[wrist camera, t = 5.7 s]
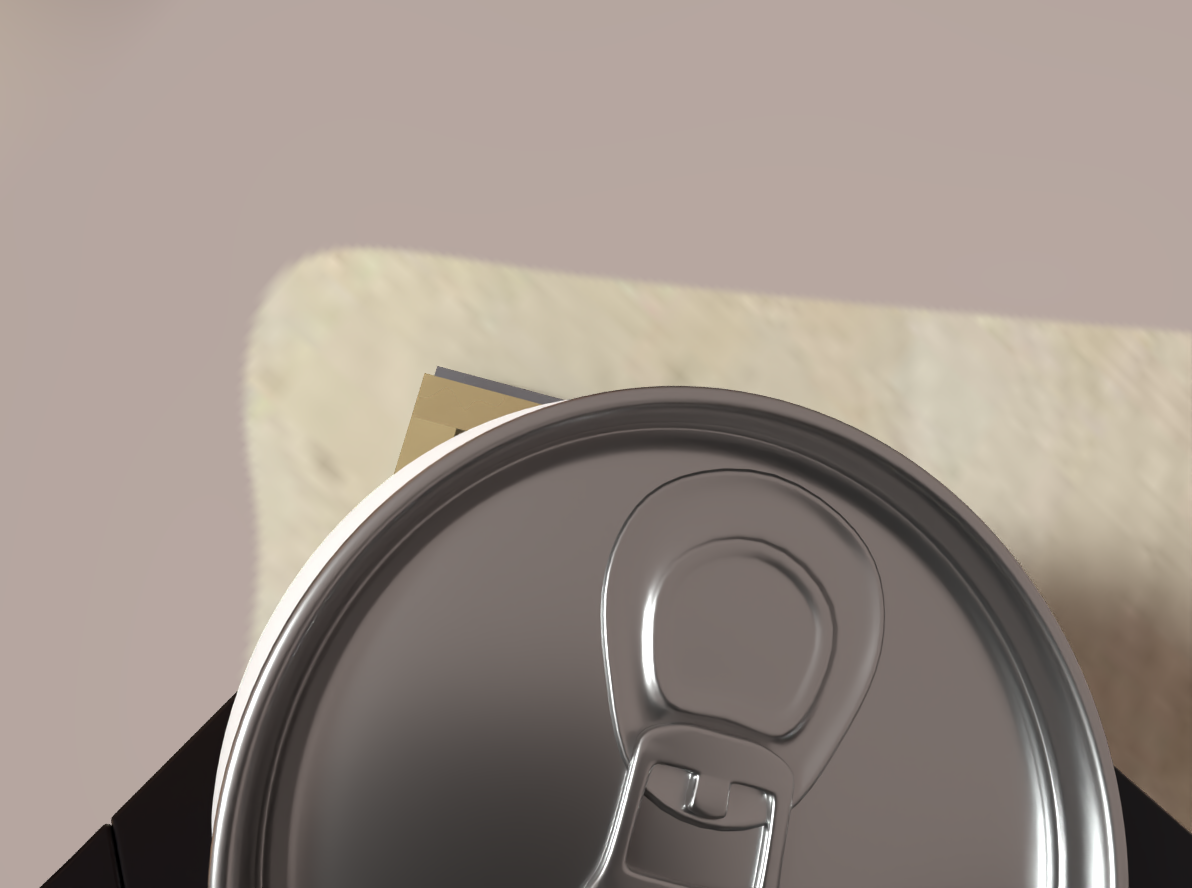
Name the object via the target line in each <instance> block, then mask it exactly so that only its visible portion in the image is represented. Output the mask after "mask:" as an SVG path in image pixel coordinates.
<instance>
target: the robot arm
mask: <svg viewBox="0 0 1192 888" xmlns="http://www.w3.org/2000/svg"><path fill="white" fill-rule="evenodd" d="M237 692H238V691H237ZM237 692H236V693H235V694H234V695H233V696H232V697H231V698H230V699H229V700H228V701H227V702H226V703H225V704H224V705H223V706H222V707H221V708H220V709H219V710H218V711H217V712H216V713H215V714H214V715H213V716H212V717H211V718H210V719H209V720H208V721H207V722H206V723H205V724H204V725H203V726H202V727H201V728H200V729H199V730H198V731H197V732H196V733H195V734H194V735H193V736H192V737H191V738H190V740H188V741H187V742H186V743H185V744H184V745H183V746H182V747H181V748H180V749H179V750H178V751H177V752H176V753H175V754H174V755H173V756H172V757H171V758H170V759H169V760H168V761H167V762H166V763H165V764H164V765H163V766H162V767H161V769H160V770H158V771H157V772H156V773H155V774H154V776H152V777H151V778H150V780H148V781H147V782H146V783H145V784H144V785H143V786H142V787H141V788H140V790H138V791H137V793H135V794H134V795H133V796H132V797H131V798H130V799H129V800H128V801H127V802H126V803H125V804H124V805H123V806H122V807H121V808H120V809H119V810H118V811H117V813H115V814H114V816H113V817H112V819H111V823H112V826H111V825H110V824H105V825H103V826H102V827H101V828H100V829H99V830H98V831H97V832H96V833H95V834H94V835H93V836H92V837H91V838H90V839H89V840H88V841H87V842H86V843H85V844H84V845H83V846H82V847H81V848H80V849H79V850H78V851H77V852H76V853H75V854H74V855H73V856H72V857H71V858H70V859H69V860H68V861H67V862H66V863H65V864H64V865H63V866H62V867H61V868H60V869H59V870H58V871H57V872H56V873H55V874H54V875H52V876H51V877H50V878H49V879H48V880H47V881H46V882H45V883H44V884H43V885H42V886H41V887H40V888H208V871H209V860H210V849H211V841H212V806H213V796H214V789H215V782H216V775H217V769H218V764H219V759H220V753H221V749H222V744H223V740H224V736H225V732H226V728H227V724H228V721H229V717H230V714H231V710H232V707H233V704H234V701H235V698H236V695H237ZM1113 766H1114V765H1113ZM1114 770H1115V775H1116V779H1117V784H1118V790H1119V795H1120V800H1121V806H1122V813H1123V820H1124V827H1125V836H1126V846H1127V858H1128V874H1129V888H1192V834H1191V833H1190V832H1189V831H1188V830H1187V829H1186V828H1185V827H1183V826H1182V825H1181V824H1180V823H1179V822H1178V821H1177V820H1175V819H1174V818H1173V817H1172V816H1171V815H1170V814H1169V813H1167V812H1166V811H1165V810H1164V809H1163V808H1162V807H1161V806H1159V805H1158V804H1157V803H1156V802H1155V801H1154V800H1153V799H1151V798H1150V797H1149V796H1148V795H1147V794H1146V793H1145V792H1143V791H1142V790H1141V789H1140V788H1139V787H1138V786H1137V785H1135V784H1134V783H1133V782H1132V781H1131V780H1130V779H1129V778H1128V777H1126V776H1125V775H1124V774H1123V773H1122V772H1121V771H1120V770H1118V769H1117V768H1116V767H1115V766H1114Z"/></svg>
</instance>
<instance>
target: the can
mask: <svg viewBox="0 0 1192 888" xmlns="http://www.w3.org/2000/svg"><path fill="white" fill-rule="evenodd" d="M208 888H1129V874H1128V858H1127V846H1126V836H1125V827H1124V820H1123V813H1122V806H1121V800H1120V795H1119V790H1118V784H1117V779H1116V775H1115V770H1114V766H1113V762H1112V758H1111V754H1110V750H1109V746H1108V743H1107V739H1106V736H1105V733H1104V729H1103V726H1102V723H1101V720H1100V717H1099V714H1098V711H1097V708H1096V705H1095V702H1094V700H1093V697H1092V694H1091V692H1090V689H1089V687H1088V684H1087V682H1086V679H1085V677H1084V675H1083V672H1082V670H1081V668H1080V666H1079V663H1078V661H1077V659H1076V657H1075V655H1074V653H1073V651H1072V649H1071V647H1070V645H1069V643H1068V641H1067V639H1066V637H1065V635H1064V633H1063V631H1062V629H1061V627H1060V626H1059V624H1058V622H1057V620H1056V618H1055V617H1054V615H1053V613H1052V612H1051V610H1050V608H1049V607H1048V605H1047V603H1046V602H1045V600H1044V599H1043V597H1042V596H1041V594H1040V593H1039V591H1038V589H1037V588H1036V586H1035V585H1034V583H1033V582H1032V581H1031V579H1030V578H1029V576H1028V575H1027V574H1026V572H1025V571H1024V569H1023V568H1022V567H1021V565H1020V564H1019V563H1018V562H1017V560H1016V559H1015V558H1014V556H1013V555H1012V554H1011V553H1010V551H1009V550H1008V549H1007V548H1006V547H1005V545H1004V544H1003V543H1002V542H1001V541H1000V540H999V538H998V537H997V536H996V535H995V534H994V533H993V532H992V531H991V529H990V528H989V527H988V526H987V525H986V524H985V523H984V522H983V521H982V520H981V519H980V518H979V517H978V516H977V515H976V514H975V513H974V512H973V511H972V510H971V509H970V508H969V507H968V506H967V505H966V504H965V503H964V502H963V501H962V500H960V499H959V498H958V497H957V496H956V495H955V494H954V493H953V492H952V491H950V490H949V489H948V488H947V487H946V486H944V485H943V484H942V483H941V482H940V481H938V480H937V479H936V478H935V477H933V476H932V475H931V474H929V473H928V472H927V471H925V470H924V469H923V468H921V467H920V466H918V465H917V464H916V463H914V462H913V461H911V460H910V459H908V458H907V457H905V456H904V455H902V454H901V453H899V452H898V451H896V450H894V449H893V448H891V447H890V446H888V445H886V444H884V443H883V442H881V441H879V440H877V439H876V438H874V437H872V436H870V435H868V434H866V433H864V432H862V431H860V430H859V429H857V428H855V427H853V426H850V425H848V424H846V423H844V422H841V421H839V420H837V419H835V418H832V417H830V416H827V415H825V414H822V413H820V412H817V411H814V410H811V409H808V408H805V407H803V406H800V405H796V404H793V403H790V402H786V401H783V400H779V399H775V398H771V397H767V396H763V395H758V394H752V393H747V392H742V391H735V390H728V389H720V388H709V387H694V386H656V387H640V388H631V389H622V390H615V391H609V392H602V393H597V394H593V395H588V396H583V397H579V398H575V399H570V400H564V401H558V402H553V403H548V404H543V405H539V406H535V407H531V408H528V409H524V410H521V411H517V412H514V413H511V414H508V415H505V416H502V417H499V418H497V419H494V420H491V421H488V422H486V423H484V424H481V425H479V426H476V427H474V428H472V429H470V430H468V431H465V432H463V433H461V434H459V435H457V436H455V437H453V438H451V439H449V440H447V441H446V442H444V443H442V444H440V445H438V446H436V447H435V448H433V449H431V450H430V451H428V452H426V453H425V454H423V455H421V456H420V457H418V458H417V459H415V460H414V461H412V462H411V463H409V464H408V465H406V466H405V467H403V468H402V469H401V470H399V471H398V472H397V473H395V474H394V475H393V476H391V477H390V478H389V479H387V480H386V481H385V482H384V483H382V484H381V485H380V486H379V487H377V488H376V489H375V490H374V491H373V492H371V493H370V494H369V495H368V496H367V497H366V498H365V499H364V500H362V501H361V502H360V503H359V504H358V505H357V506H356V507H355V508H354V509H353V510H352V511H351V512H350V513H349V514H348V515H347V516H346V517H345V518H344V519H343V520H342V521H341V522H340V523H339V524H338V525H337V526H336V527H335V528H334V529H333V531H332V532H331V533H330V534H329V535H328V536H327V537H326V538H325V540H324V541H323V542H322V543H321V544H320V546H319V547H318V548H317V549H316V550H315V552H314V553H313V554H312V556H311V557H310V558H309V559H308V561H307V562H306V563H305V565H304V566H303V567H302V569H301V570H300V572H299V573H298V574H297V576H296V577H295V579H294V580H293V582H292V583H291V585H290V586H289V588H288V589H287V591H286V592H285V594H284V596H283V597H282V599H281V600H280V602H279V604H278V605H277V607H276V609H275V611H274V612H273V614H272V616H271V618H270V620H269V621H268V623H267V625H266V627H265V629H264V631H263V633H262V635H261V637H260V639H259V641H258V643H257V645H256V647H255V650H254V652H253V654H252V656H251V659H250V661H249V663H248V666H247V668H246V671H245V673H244V676H243V678H242V681H241V683H240V686H239V689H238V692H237V695H236V698H235V701H234V704H233V707H232V710H231V714H230V717H229V721H228V724H227V728H226V732H225V736H224V740H223V744H222V749H221V753H220V759H219V764H218V769H217V775H216V782H215V789H214V796H213V806H212V841H211V849H210V860H209V871H208Z"/></svg>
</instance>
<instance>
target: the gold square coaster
mask: <svg viewBox="0 0 1192 888" xmlns="http://www.w3.org/2000/svg"><path fill="white" fill-rule="evenodd" d="M558 401H564V400H562V399H558V398H554V397H551V396H547V395H543V394H540V393H536V392H532V391H528V390H525V389H521V388H517V387H513V386H510V385H506V384H502V383H499V382H495V381H491V380H487V379H484V378H480V377H476V376H472V375H469V374H465V373H461V372H458V371H454V370H450V369H446V368H443V367H439V366H437V369H436V373H435V376H434V375H430V374H426V373H425V374H424V377H423V381H422V384H421V387H420V391H419V394H418V397H417V400H416V404H415V407H414V410H413V413H412V417H411V420H410V423H409V427H408V430H407V433H406V436H405V440H404V443H403V446H402V449H401V453H400V456H399V459H398V463H397V466H396V469H395V472H394V474H395V473H397V472H398V471H399V470H401V469H402V468H403V467H405V466H406V465H408V464H409V463H411V462H412V461H414V460H415V459H417V458H418V457H420V456H421V455H423V454H425V453H426V452H428V451H430V450H431V449H433V448H435V447H436V446H438V445H440V444H442V443H444V442H446V441H447V440H449V439H451V438H453V437H455V436H457V435H459V434H461V433H463V432H465V431H468V430H470V429H472V428H474V427H476V426H479V425H481V424H484V423H486V422H488V421H491V420H494V419H497V418H499V417H502V416H505V415H508V414H511V413H514V412H517V411H521V410H524V409H528V408H531V407H535V406H539V405H543V404H548V403H553V402H558Z"/></svg>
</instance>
